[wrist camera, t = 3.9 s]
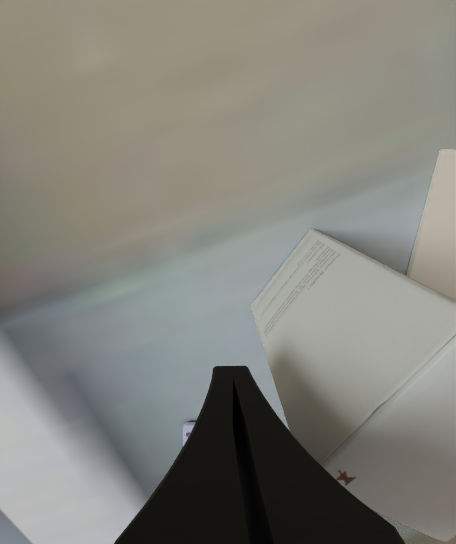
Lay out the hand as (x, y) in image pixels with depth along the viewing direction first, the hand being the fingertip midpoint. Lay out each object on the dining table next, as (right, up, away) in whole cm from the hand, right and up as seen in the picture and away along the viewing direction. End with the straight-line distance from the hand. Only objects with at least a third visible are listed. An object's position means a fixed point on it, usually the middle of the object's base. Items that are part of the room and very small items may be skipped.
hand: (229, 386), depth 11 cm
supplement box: (+6, +3, +10) cm, 12 cm away
